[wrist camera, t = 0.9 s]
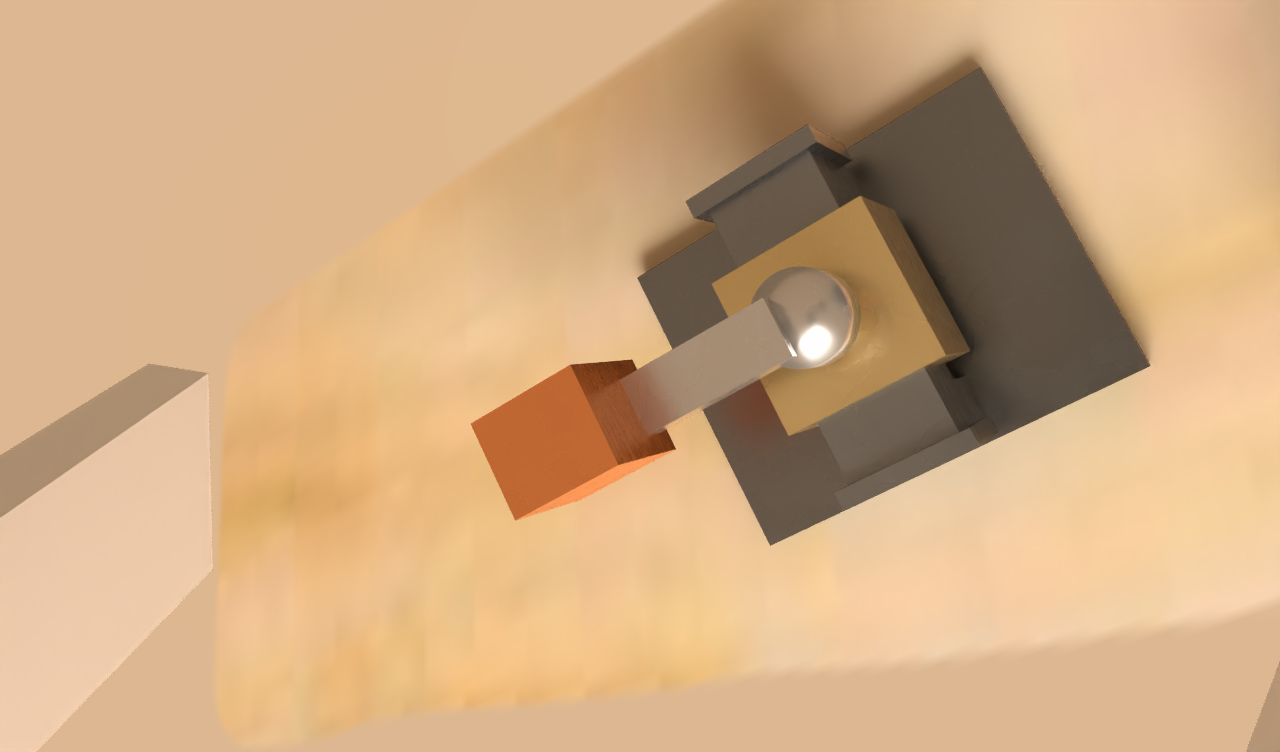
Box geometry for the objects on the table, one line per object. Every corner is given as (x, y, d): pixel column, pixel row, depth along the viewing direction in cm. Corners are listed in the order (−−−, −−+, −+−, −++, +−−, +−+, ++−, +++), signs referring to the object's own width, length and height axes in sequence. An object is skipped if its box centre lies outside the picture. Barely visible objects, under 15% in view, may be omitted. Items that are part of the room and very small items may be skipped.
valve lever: (830, 247, 32) (785, 237, 28) (879, 341, 31) (841, 345, 27) (544, 412, 36) (470, 423, 32) (585, 497, 35) (515, 520, 31)
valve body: (984, 72, 38) (944, 14, 31) (1150, 365, 36) (1150, 376, 29) (646, 278, 43) (545, 270, 36) (776, 541, 41) (698, 588, 34)
